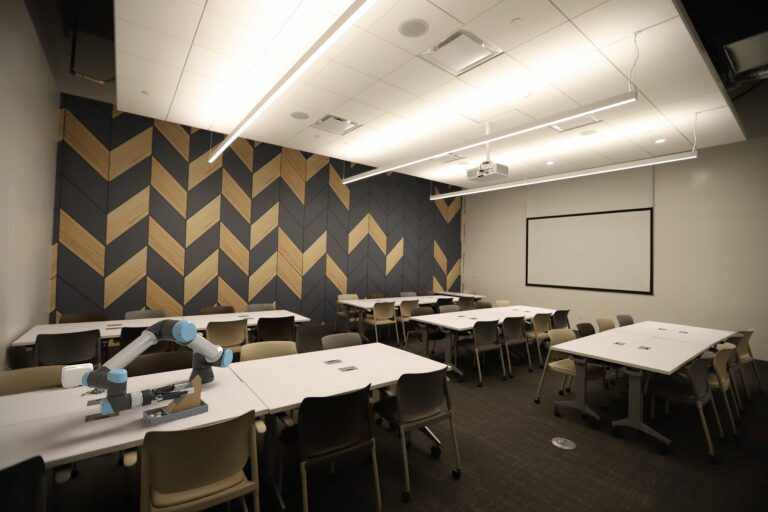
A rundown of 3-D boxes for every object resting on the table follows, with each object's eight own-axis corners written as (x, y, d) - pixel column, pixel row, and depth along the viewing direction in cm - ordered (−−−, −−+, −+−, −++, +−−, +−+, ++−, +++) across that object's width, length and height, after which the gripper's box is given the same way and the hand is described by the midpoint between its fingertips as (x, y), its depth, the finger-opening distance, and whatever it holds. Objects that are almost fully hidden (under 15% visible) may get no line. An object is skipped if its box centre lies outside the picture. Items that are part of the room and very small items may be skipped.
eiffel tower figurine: (116, 388, 220) (117, 366, 221) (112, 394, 211) (113, 371, 212) (85, 391, 213) (86, 369, 214) (80, 397, 204) (81, 374, 205)
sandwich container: (164, 407, 187) (165, 379, 187) (196, 401, 196) (197, 374, 197) (167, 413, 180) (168, 384, 180) (200, 406, 190) (201, 378, 190)
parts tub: (199, 404, 200) (199, 397, 200) (208, 411, 191) (208, 404, 191) (142, 418, 181) (143, 411, 181) (149, 426, 172) (149, 419, 172)
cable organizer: (60, 389, 214) (61, 370, 214) (61, 384, 222) (62, 366, 222) (92, 384, 224) (93, 366, 224) (92, 380, 232) (93, 362, 232)
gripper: (135, 399, 182) (184, 389, 198) (145, 413, 167) (197, 400, 183) (136, 385, 182) (184, 375, 198) (146, 397, 167) (198, 386, 183)
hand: (190, 387), depth 191 cm, fingers closed on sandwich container, 8 cm apart
